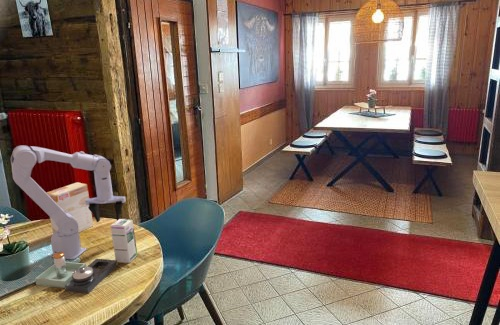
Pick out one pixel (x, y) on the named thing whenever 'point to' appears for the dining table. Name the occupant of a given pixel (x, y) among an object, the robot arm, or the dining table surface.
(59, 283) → the tray
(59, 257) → the glass vial
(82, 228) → the coffeecake box
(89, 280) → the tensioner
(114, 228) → the syrup box
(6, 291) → the dining table surface
